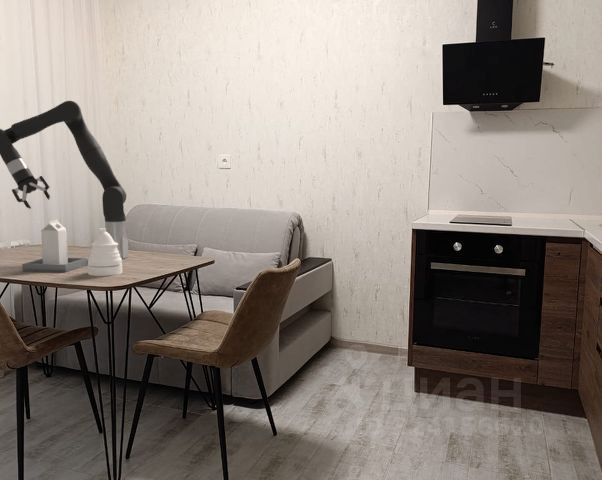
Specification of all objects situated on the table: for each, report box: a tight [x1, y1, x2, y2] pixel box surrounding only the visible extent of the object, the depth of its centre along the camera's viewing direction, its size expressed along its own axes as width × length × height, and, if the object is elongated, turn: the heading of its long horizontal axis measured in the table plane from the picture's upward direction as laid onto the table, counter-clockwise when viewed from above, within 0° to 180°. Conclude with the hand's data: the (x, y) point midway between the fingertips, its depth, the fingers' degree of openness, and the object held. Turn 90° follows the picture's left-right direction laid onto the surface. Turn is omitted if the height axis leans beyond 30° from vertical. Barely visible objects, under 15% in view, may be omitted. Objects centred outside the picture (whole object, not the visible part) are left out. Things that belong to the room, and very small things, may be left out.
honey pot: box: [87, 227, 123, 277], centre depth 219 cm, size 13×13×18 cm
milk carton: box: [40, 219, 69, 264], centre depth 229 cm, size 7×7×19 cm
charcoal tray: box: [22, 257, 88, 273], centre depth 230 cm, size 18×18×3 cm
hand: (39, 203), depth 243 cm, fingers open, 8 cm apart
